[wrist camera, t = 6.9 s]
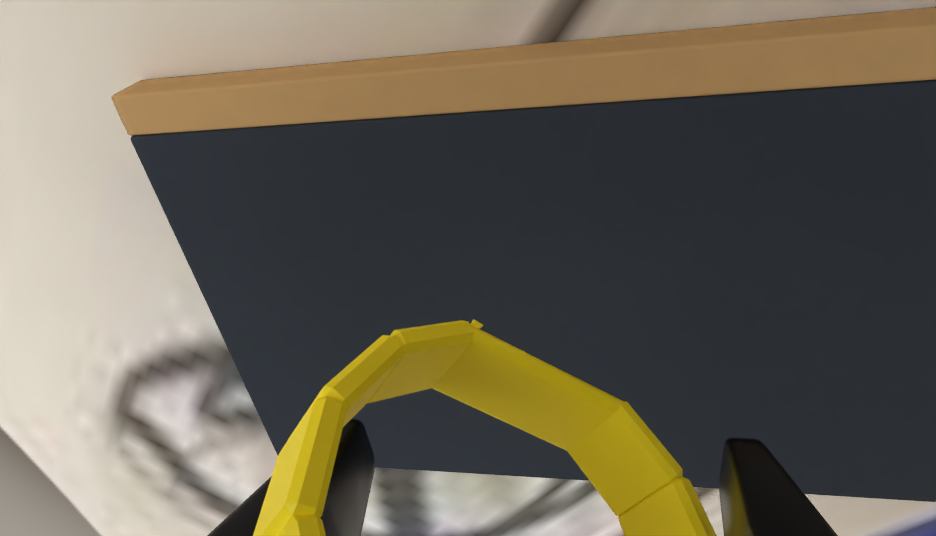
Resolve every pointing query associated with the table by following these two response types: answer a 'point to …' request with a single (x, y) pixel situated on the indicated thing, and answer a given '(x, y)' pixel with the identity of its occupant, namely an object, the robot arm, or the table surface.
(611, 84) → the dark rectangular board
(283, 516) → the watch
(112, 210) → the table surface
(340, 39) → the table surface
